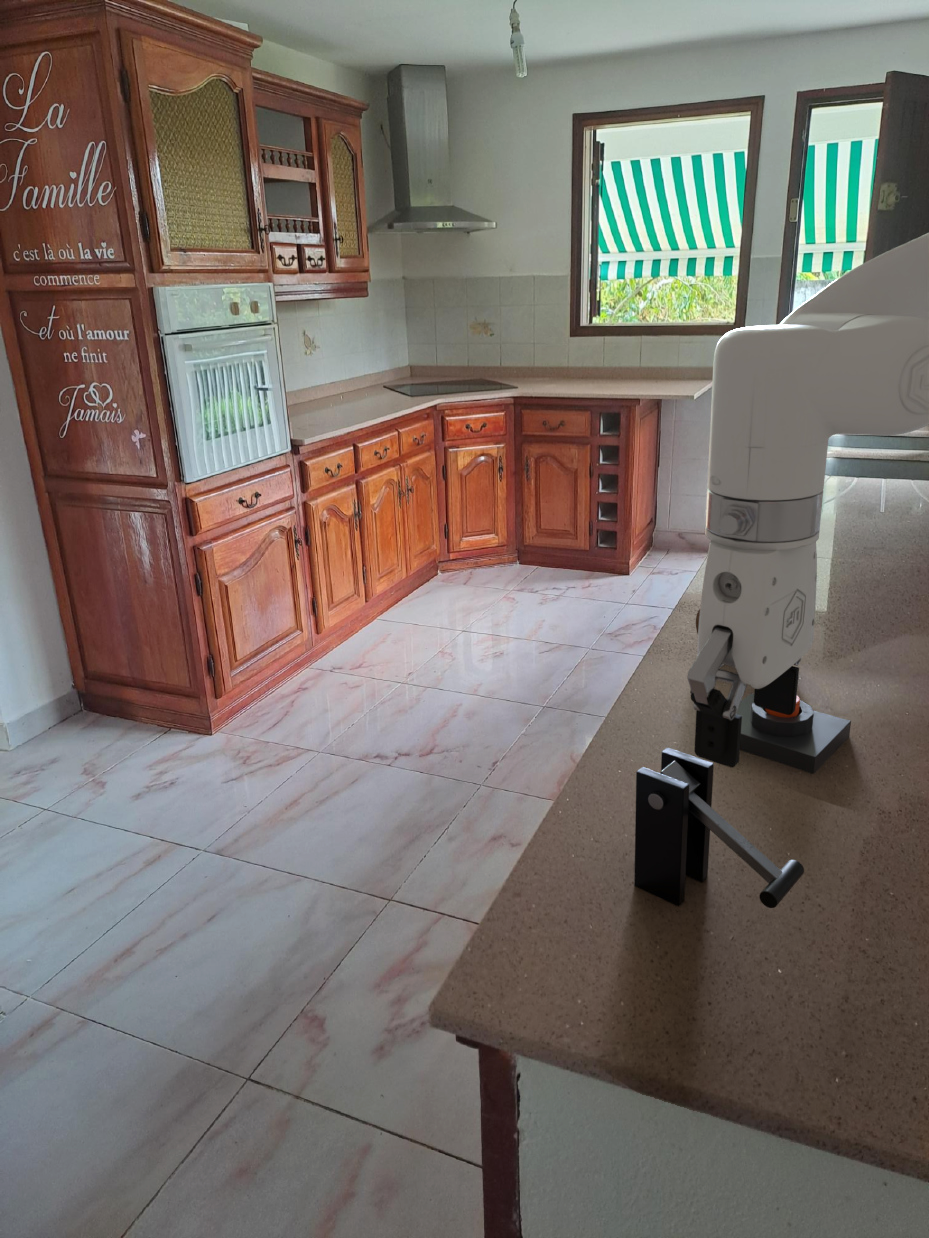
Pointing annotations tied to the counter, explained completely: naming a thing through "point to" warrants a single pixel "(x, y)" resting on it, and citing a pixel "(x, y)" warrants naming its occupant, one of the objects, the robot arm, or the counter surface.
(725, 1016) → the counter surface
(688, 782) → the lever
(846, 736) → the control block
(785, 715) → the button
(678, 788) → the bracket
